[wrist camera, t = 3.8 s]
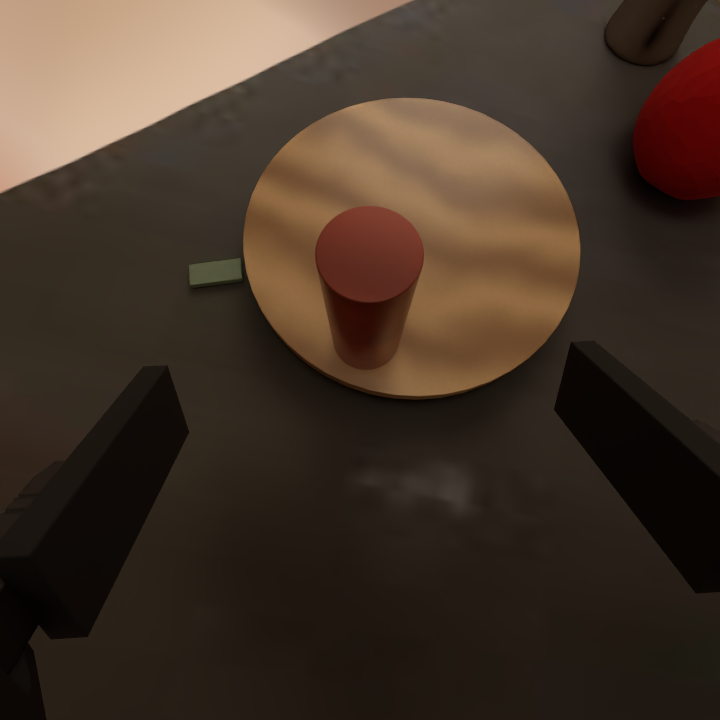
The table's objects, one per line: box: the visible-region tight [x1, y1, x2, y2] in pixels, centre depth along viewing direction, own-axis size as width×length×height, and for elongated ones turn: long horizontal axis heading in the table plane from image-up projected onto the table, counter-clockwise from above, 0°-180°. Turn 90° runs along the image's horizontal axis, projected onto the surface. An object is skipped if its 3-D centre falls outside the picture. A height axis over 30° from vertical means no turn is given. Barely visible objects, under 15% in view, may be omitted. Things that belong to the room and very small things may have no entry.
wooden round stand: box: [243, 98, 580, 400], centre depth 22 cm, size 22×22×11 cm
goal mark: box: [189, 258, 244, 288], centre depth 28 cm, size 4×2×1 cm, turn 98°
